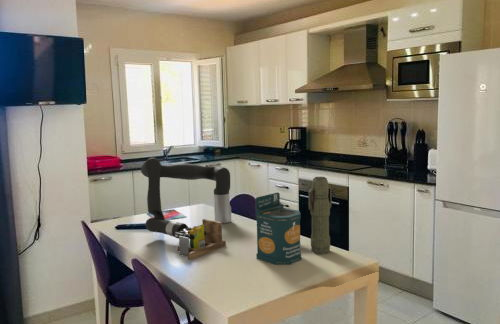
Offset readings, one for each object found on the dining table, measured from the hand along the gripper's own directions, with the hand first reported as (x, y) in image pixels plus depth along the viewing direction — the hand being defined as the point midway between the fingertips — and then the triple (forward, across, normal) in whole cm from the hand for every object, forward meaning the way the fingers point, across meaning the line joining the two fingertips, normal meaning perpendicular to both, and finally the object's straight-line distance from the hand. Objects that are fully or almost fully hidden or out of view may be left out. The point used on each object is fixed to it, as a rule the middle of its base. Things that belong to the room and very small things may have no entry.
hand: (200, 235), depth 205 cm
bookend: (-1, -9, +8) cm, 12 cm away
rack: (-1, 0, +8) cm, 8 cm away
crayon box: (-2, 0, +7) cm, 8 cm away
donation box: (+38, +14, +8) cm, 41 cm away
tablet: (-68, +37, +9) cm, 78 cm away
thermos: (+48, +31, +7) cm, 57 cm away
